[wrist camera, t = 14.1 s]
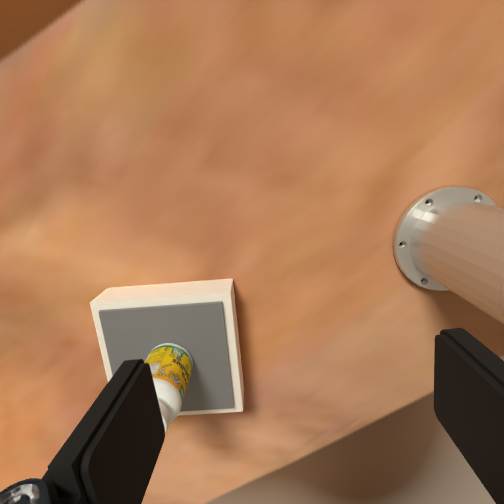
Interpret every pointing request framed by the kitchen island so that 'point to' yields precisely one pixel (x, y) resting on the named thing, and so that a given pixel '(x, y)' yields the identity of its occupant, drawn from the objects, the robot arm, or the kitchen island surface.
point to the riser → (177, 336)
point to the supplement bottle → (170, 378)
